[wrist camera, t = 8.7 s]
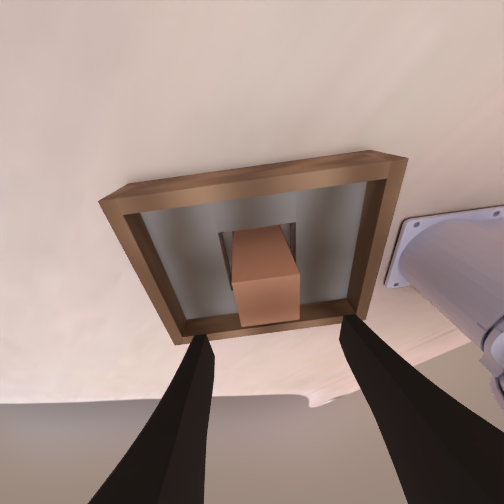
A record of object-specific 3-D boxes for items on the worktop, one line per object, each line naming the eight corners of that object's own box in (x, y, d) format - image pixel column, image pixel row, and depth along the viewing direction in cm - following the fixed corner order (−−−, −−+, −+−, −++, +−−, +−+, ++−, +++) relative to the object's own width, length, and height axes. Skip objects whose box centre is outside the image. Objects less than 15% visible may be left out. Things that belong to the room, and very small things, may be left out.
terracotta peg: (278, 223, 18) (299, 273, 12) (280, 261, 20) (299, 319, 14) (233, 230, 18) (231, 283, 12) (239, 266, 20) (241, 327, 14)
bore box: (370, 150, 15) (408, 158, 12) (346, 290, 23) (365, 320, 19) (128, 183, 15) (97, 201, 12) (183, 312, 23) (174, 345, 19)
